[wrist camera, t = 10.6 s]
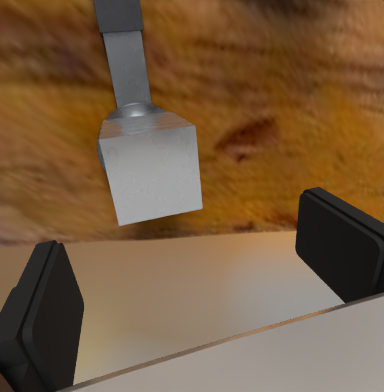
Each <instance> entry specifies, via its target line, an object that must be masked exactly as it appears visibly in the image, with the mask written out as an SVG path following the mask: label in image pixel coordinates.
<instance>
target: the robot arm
mask: <svg viewBox="0 0 384 392" xmlns="http://www.w3.org/2000/svg"><path fill="white" fill-rule="evenodd" d="M295 248H296V252H297V254H298V256H299V257H300V258H301V259H302V260H303V261H304V262H305V263H306V264H307V265H308V266H309V267H310V268H311V269H312V270H313V271H314V272H315V273H316V274H317V275H318V276H319V277H320V278H321V279H322V280H323V281H324V282H325V283H326V284H327V285H328V286H329V287H330V288H331V289H332V290H333V291H334V292H335V293H336V294H337V295H338V296H339V297H340V298H341V299H342V300H343V301H344V302H345V304H342V305H339V306H335V307H331V308H328V309H325V310H321V311H318V312H314V313H310V314H307V315H304V316H300V317H297V318H293V319H290V320H287V321H283V322H280V323H276V324H273V325H270V326H266V327H263V328H259V329H256V330H252V331H249V332H246V333H242V334H239V335H235V336H232V337H229V338H226V339H222V340H219V341H215V342H212V343H209V344H205V345H202V346H198V347H195V348H192V349H188V350H185V351H182V352H178V353H175V354H172V355H168V356H165V357H162V358H158V359H155V360H152V361H148V362H145V363H142V364H139V365H135V366H132V367H129V368H126V369H123V370H120V371H116V372H113V373H110V374H107V375H104V376H101V377H98V378H95V379H91V380H88V381H85V382H82V383H79V384H76V385H73V381H74V374H75V367H76V360H77V353H78V346H79V339H80V333H81V325H82V318H83V312H84V302H83V298H82V295H81V292H80V290H79V287H78V284H77V281H76V278H75V275H74V273H73V270H72V267H71V264H70V261H69V259H68V256H67V253H66V251H65V247H64V245H63V243H57V241H55V240H53V241H48V242H43V243H38V244H37V245H36V246H35V248H34V250H33V253H32V255H31V257H30V259H29V261H28V263H27V265H26V267H25V269H24V271H23V273H22V276H21V278H20V280H19V282H18V284H17V286H16V287H14V288H13V289H12V290H11V292H10V294H9V296H8V298H7V300H6V302H5V304H4V306H3V308H2V310H1V312H0V392H384V223H382V222H380V221H379V220H377V219H375V218H373V217H372V216H370V215H368V214H366V213H365V212H363V211H361V210H359V209H357V208H356V207H354V206H352V205H350V204H349V203H347V202H345V201H343V200H341V199H340V198H338V197H336V196H334V195H333V194H331V193H329V192H327V191H326V190H324V189H322V188H320V187H316V188H311V189H306V190H304V192H303V194H301V195H300V199H299V211H298V222H297V234H296V246H295Z"/></svg>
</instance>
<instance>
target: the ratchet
mask: <svg viewBox="0 0 384 392" xmlns="http://www.w3.org/2000/svg"><path fill="white" fill-rule="evenodd" d="M93 1H94V6H95V11H96V16H97V20H98V25H99V30H100V34H101V36H103V37H104V42H105V47H106V52H107V57H108V62H109V67H110V72H111V77H112V82H113V87H114V92H115V97H116V102H117V108H116V109H114V110H113V111H112V112H111V113H109V114H108V116H107V117H106V118H105V120H110V119H118V118H125V117H133V116H141V115H148V114H156V113H163V112H166V111H164V110H163V109H161V108H160V107H158V106H156V105H154V104H152V103H151V97H150V90H149V83H148V76H147V70H146V63H145V56H144V50H143V43H142V36H141V32H142V31H143V22H142V15H141V8H140V1H139V0H93ZM101 127H102V126H101ZM100 132H101V128H100ZM100 132H99V136H98V141H97V152H98V157H99V160H100V163H101V165H102V167H103V169H104V170H105V172H106V168H105V163H104V159H103V155H102V151H101V147H100V143H99V137H100ZM106 173H107V172H106Z"/></svg>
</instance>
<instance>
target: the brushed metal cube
mask: <svg viewBox="0 0 384 392" xmlns="http://www.w3.org/2000/svg"><path fill="white" fill-rule="evenodd" d="M99 143H100V147H101V151H102V155H103V159H104V163H105V168H106V172H107V176H108V180H109V184H110V189H111V193H112V197H113V201H114V205H115V210H116V214H117V218H118V222H119V226H121V225H126V224H131V223H136V222H140V221H145V220H150V219H155V218H160V217H164V216H169V215H174V214H179V213H183V212H188V211H193V210H198V209H202V197H201V185H200V174H199V162H198V150H197V139H196V127H195V125H193V124H192V123H190V122H188V121H187V120H185V119H183V118H182V117H180V116H178V115H177V114H175V113H173V112H172V111H171V112H163V113H156V114H148V115H141V116H133V117H125V118H118V119H110V120H103V123H102V127H101V132H100V137H99Z"/></svg>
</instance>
